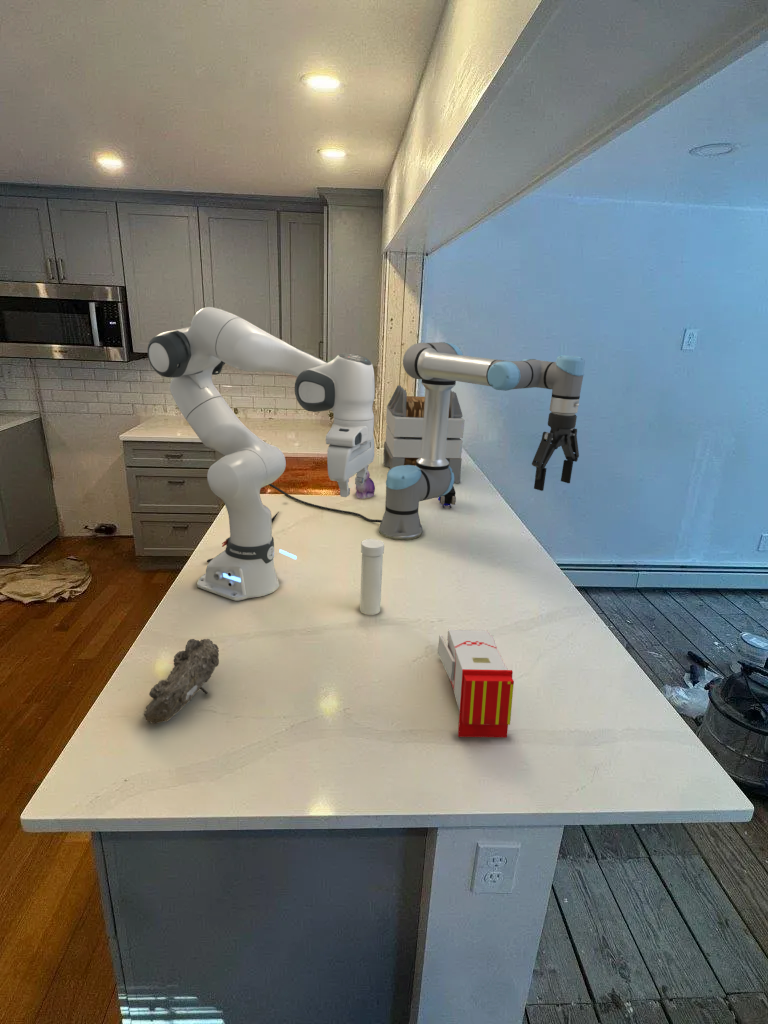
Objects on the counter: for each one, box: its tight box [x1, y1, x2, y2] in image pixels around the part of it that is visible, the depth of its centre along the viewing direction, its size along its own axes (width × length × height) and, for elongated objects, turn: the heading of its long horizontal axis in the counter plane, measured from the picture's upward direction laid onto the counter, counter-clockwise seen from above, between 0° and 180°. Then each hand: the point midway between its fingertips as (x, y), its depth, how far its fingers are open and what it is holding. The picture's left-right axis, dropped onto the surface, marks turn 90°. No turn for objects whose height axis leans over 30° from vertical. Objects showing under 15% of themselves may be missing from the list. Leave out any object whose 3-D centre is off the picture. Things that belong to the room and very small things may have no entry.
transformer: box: [383, 384, 465, 484], centre depth 268 cm, size 34×33×41 cm
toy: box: [437, 628, 515, 738], centre depth 117 cm, size 12×13×30 cm
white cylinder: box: [360, 538, 385, 557], centre depth 143 cm, size 6×6×2 cm
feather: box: [272, 512, 279, 524], centre depth 212 cm, size 2×28×2 cm
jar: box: [359, 553, 384, 616], centre depth 146 cm, size 5×5×19 cm
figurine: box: [354, 465, 376, 500], centre depth 236 cm, size 9×10×15 cm
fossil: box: [144, 638, 220, 724], centre depth 113 cm, size 22×10×15 cm
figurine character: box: [437, 485, 457, 509], centre depth 231 cm, size 7×8×15 cm
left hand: (352, 490), depth 130 cm, fingers open, 8 cm apart
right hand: (552, 485), depth 166 cm, fingers open, 13 cm apart
